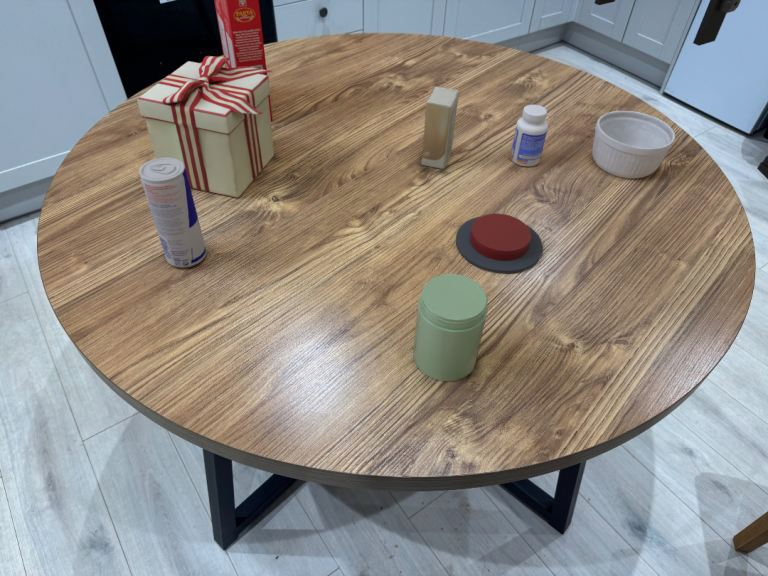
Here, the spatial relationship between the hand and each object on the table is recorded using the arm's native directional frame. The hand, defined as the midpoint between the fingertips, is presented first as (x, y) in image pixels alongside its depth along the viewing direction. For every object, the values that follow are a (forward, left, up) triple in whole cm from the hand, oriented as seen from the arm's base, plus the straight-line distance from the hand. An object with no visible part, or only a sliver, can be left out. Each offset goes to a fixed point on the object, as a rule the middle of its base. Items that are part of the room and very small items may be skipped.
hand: (650, 21), depth 64 cm
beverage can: (+27, +51, -33) cm, 66 cm away
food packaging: (+65, +25, -33) cm, 77 cm away
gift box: (+46, +37, -33) cm, 68 cm away
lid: (+6, +10, -31) cm, 33 cm away
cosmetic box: (+30, +4, -33) cm, 45 cm away
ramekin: (+12, -25, -33) cm, 43 cm away
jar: (-7, +30, -33) cm, 45 cm away
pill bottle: (+22, -10, -33) cm, 41 cm away
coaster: (+6, +10, -33) cm, 35 cm away
